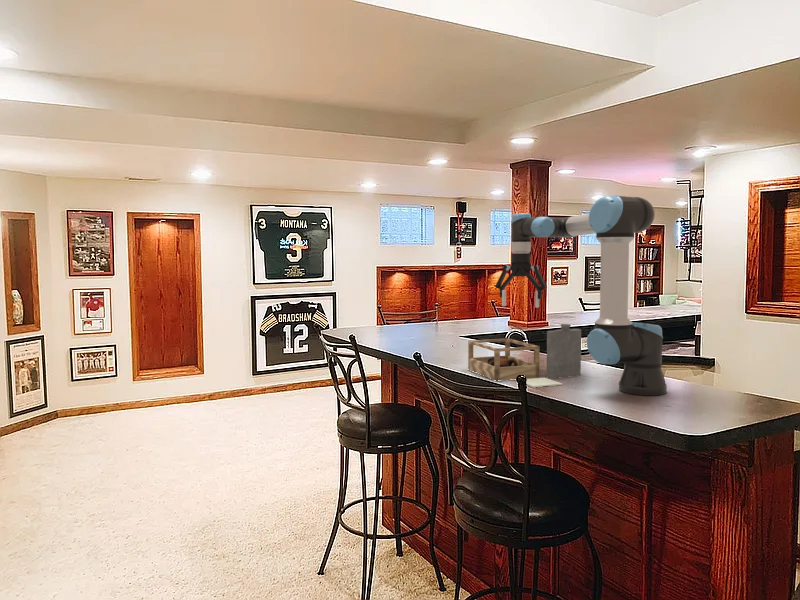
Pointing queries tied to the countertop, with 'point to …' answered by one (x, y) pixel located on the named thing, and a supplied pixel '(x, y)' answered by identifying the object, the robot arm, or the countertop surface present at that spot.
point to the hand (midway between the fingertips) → (520, 306)
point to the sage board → (541, 382)
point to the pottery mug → (503, 362)
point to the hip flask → (563, 352)
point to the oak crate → (511, 372)
